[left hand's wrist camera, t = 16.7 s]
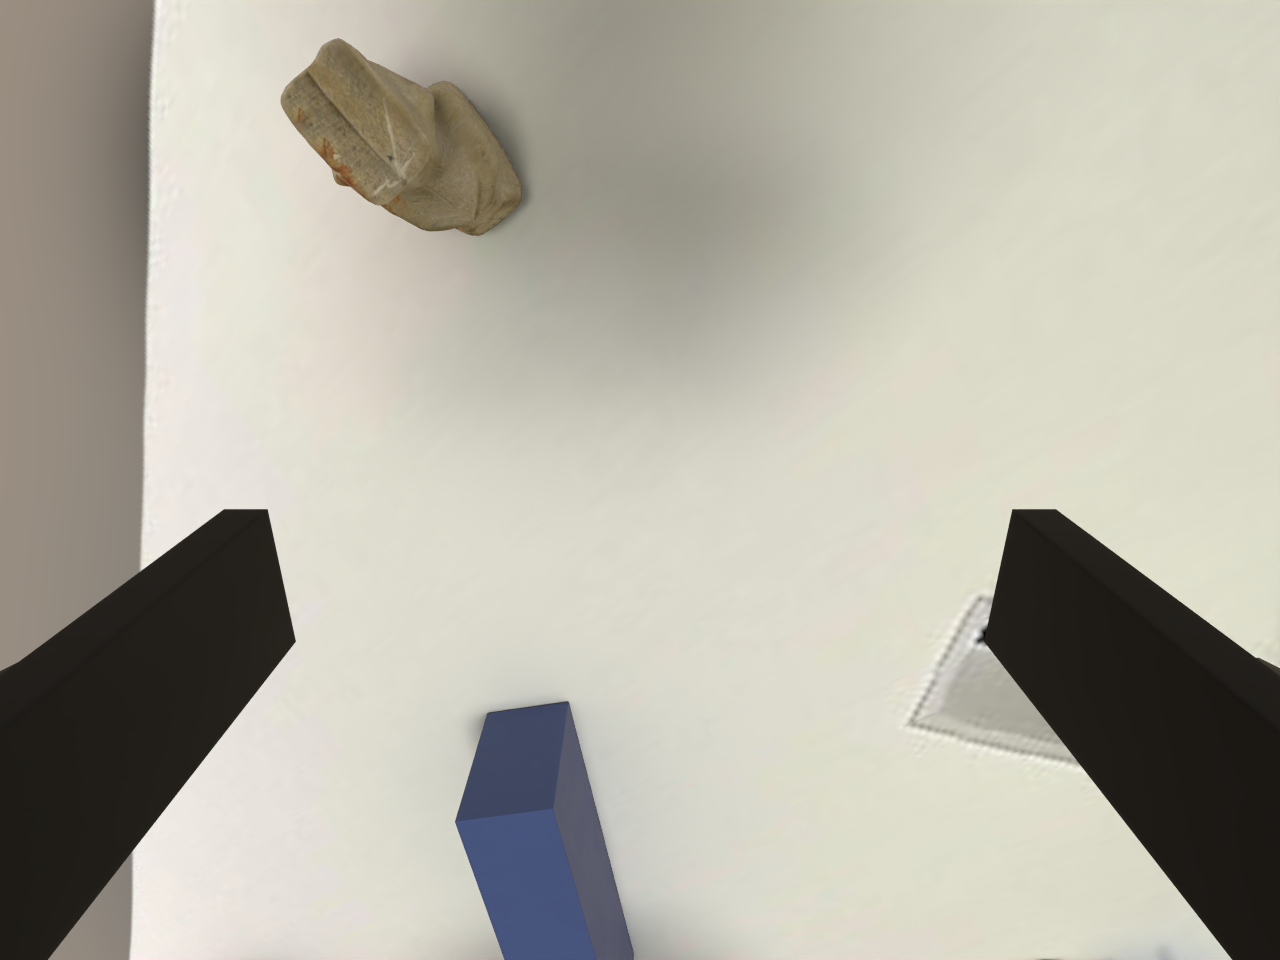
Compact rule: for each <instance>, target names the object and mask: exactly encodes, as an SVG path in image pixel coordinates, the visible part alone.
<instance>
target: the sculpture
mask: <svg viewBox="0 0 1280 960" xmlns="http://www.w3.org/2000/svg"><path fill="white" fill-rule="evenodd" d="M281 105H282V108H283V110H284V111H285V113H286V115H287V116H288V118H289V119H290V121H291V122H292V124H293V125H294V126H295V128H296V129H297V130H298V131H299V132H300V134H301V135H302V136H303V137H304V138H305V139H306V141H307V142H308V143H309V145H310V146H311V147H312V148H313V149H314V150H315V151H316V152H317V153H318V154H319V155H320V156H321V157H322V158H323V159H324V160H325V162H326V163H327V164H328V165H329V166H330V167H331V168H332V172H333V177H334V180H335V182H336V183H337V184H339V185H342V186H350V187H351V188H353V189H354V190H355V191H356V192H358V193H359V194H360V195H361V196H362V197H364V198H365V199H366V200H368V201H369V202H371V203H373V204H375V205H381V206H382V207H384V208H385V209H386V210H387V211H389V212H390V213H392V214H394V215H396V216H398V217H400V218H402V219H404V220H405V221H407V222H409V223H411V224H413V225H415V226H417V227H418V228H420V229H423V230H426V231H443V230H449V229H453V228H456V229H458V230H460V231H462V232H464V233H466V234H469V235H476V236H478V235H482V234H484V233H485V232H487V231H488V230H490V229H491V228H492V227H494V226H495V225H497V224H498V223H499V222H500V221H502V220H503V219H504V218H505V217H506V216H507V215H508V214H509V213H511V212H512V211H513V210H514V209H515V208H516V207H517V206H518V204H519V203H520V201H521V199H522V194H521V189H522V185H521V182H520V180H519V179H518V177H517V175H516V174H515V172H514V170H513V168H512V166H511V164H510V162H509V160H508V158H507V156H506V154H505V153H504V151H503V149H502V148H501V146H500V145H499V143H498V141H497V140H496V138H495V137H494V135H493V134H492V132H491V131H490V129H489V128H488V127H487V125H486V124H485V122H484V121H483V120H482V118H481V117H480V115H479V114H478V113H477V112H476V110H475V109H474V108H473V107H472V105H471V104H470V103H469V102H468V100H467V99H466V98H465V97H464V95H463V94H462V93H461V92H460V91H459V90H458V89H457V87H456V86H455V85H453V84H451V83H449V82H446V81H443V82H438V83H436V84H433V85H432V86H430V87H429V88H427V89H425V88H423V87H422V86H420V85H418V84H416V83H414V82H412V81H410V80H408V79H406V78H404V77H402V76H400V75H398V74H396V73H394V72H392V71H390V70H388V69H386V68H384V67H382V66H381V65H378V64H376V63H373V62H371V61H369V60H367V59H366V58H365V57H364V56H363V55H362V54H361V53H360V52H359V51H358V50H356V49H355V48H354V47H352V46H351V45H350V44H348V43H346V42H345V41H343V40H341V39H334V40H331V41H329V42H327V43H326V44H324V45H323V46H322V47H321V48H320V50H319V52H318V54H317V56H316V58H315V60H314V61H313V63H312V64H311V65H310V66H309V67H308V68H307V69H305V70H304V71H303V72H302V73H301V74H299V75H298V76H297V77H296V78H295V79H293V80H292V81H291V82H290V83H289V84H288V85H287V86H286V88H285V89H284V91H283V93H282V95H281Z"/></svg>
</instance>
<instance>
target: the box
mask: <svg viewBox="0 0 1280 960" xmlns="http://www.w3.org/2000/svg"><path fill="white" fill-rule="evenodd" d="M455 823H456V826H457V829H458V831H459V834H460V837H461V840H462V843H463V845H464V848H465V851H466V854H467V856H468V859H469V862H470V865H471V868H472V870H473V873H474V876H475V879H476V881H477V884H478V887H479V890H480V892H481V895H482V898H483V901H484V904H485V906H486V909H487V912H488V915H489V917H490V920H491V923H492V926H493V929H494V931H495V934H496V937H497V940H498V942H499V945H500V948H501V951H502V954H503V956H504V959H505V960H634V953H633V949H632V946H631V942H630V938H629V934H628V930H627V926H626V922H625V919H624V915H623V911H622V907H621V903H620V899H619V895H618V892H617V888H616V884H615V880H614V876H613V872H612V868H611V865H610V861H609V857H608V853H607V849H606V845H605V841H604V838H603V834H602V830H601V826H600V822H599V818H598V814H597V811H596V807H595V803H594V799H593V795H592V791H591V787H590V784H589V780H588V776H587V772H586V768H585V764H584V760H583V757H582V753H581V749H580V745H579V741H578V737H577V733H576V730H575V726H574V722H573V718H572V714H571V710H570V706H569V703H568V702H564V703H557V704H550V705H543V706H536V707H529V708H522V709H514V710H507V711H500V712H493V713H488V714H487V717H486V720H485V723H484V727H483V730H482V733H481V737H480V740H479V743H478V747H477V750H476V753H475V757H474V760H473V764H472V767H471V770H470V774H469V777H468V780H467V784H466V787H465V790H464V794H463V797H462V800H461V804H460V807H459V810H458V814H457V817H456V821H455Z"/></svg>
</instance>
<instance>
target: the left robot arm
mask: <svg viewBox="0 0 1280 960" xmlns="http://www.w3.org/2000/svg"><path fill="white" fill-rule="evenodd" d="M295 642H296V640H295V636H294V631H293V626H292V622H291V617H290V612H289V608H288V603H287V598H286V594H285V589H284V584H283V579H282V575H281V570H280V565H279V561H278V556H277V551H276V547H275V542H274V537H273V533H272V528H271V523H270V519H269V514H268V509H224V510H223V511H221V512H220V513H219V514H217V515H216V516H215V517H213V518H212V519H210V520H209V521H208V522H206V523H205V524H204V525H202V526H201V527H200V528H198V529H197V530H196V531H194V532H193V533H192V534H190V535H189V536H188V537H186V538H185V539H184V540H182V541H181V542H180V543H178V544H177V545H176V546H174V547H173V548H171V549H170V550H169V551H167V552H166V553H165V554H163V555H162V556H161V557H159V558H158V559H157V560H155V561H154V562H153V563H151V564H150V565H149V566H147V567H146V568H145V569H143V570H142V571H141V572H139V573H138V574H137V575H135V576H134V577H132V578H131V579H130V580H128V581H127V582H126V583H125V584H123V585H122V586H120V587H119V588H118V589H116V590H115V591H114V592H112V593H111V594H110V595H108V596H107V597H106V598H104V599H103V600H102V601H100V602H99V603H98V604H96V605H95V606H94V607H92V608H91V609H89V610H88V611H87V612H85V613H84V614H83V615H81V616H80V617H79V618H77V619H76V620H75V621H73V622H72V623H71V624H69V625H68V626H67V627H65V628H64V629H63V630H61V631H60V632H59V633H57V634H56V635H54V636H53V637H52V638H51V639H49V640H48V641H46V642H45V643H44V644H42V645H41V646H40V647H38V648H37V649H36V650H34V651H33V652H32V653H30V654H29V655H28V656H26V657H25V658H24V659H22V660H21V661H20V662H18V663H16V664H14V665H12V666H10V667H8V668H6V669H4V670H2V671H0V960H48V959H49V957H50V956H51V955H52V954H53V952H54V951H55V950H56V948H57V947H58V946H59V945H60V943H61V942H62V941H63V939H64V938H65V937H66V936H67V934H68V933H69V932H70V930H71V929H72V928H73V927H74V925H75V924H76V923H77V921H78V920H79V919H80V918H81V916H82V915H83V914H84V912H85V911H86V910H87V909H88V907H89V906H90V905H91V904H92V902H93V901H94V900H95V898H96V897H97V896H98V894H99V893H100V892H101V891H102V889H103V888H104V887H105V886H106V884H107V883H108V882H109V880H110V879H111V878H112V877H113V875H114V874H115V873H116V871H117V870H118V869H119V868H120V866H121V865H122V864H123V862H124V861H125V860H126V859H127V857H128V856H129V855H130V854H131V852H132V851H133V850H134V848H135V847H136V846H137V845H138V843H139V842H140V841H141V839H142V838H143V837H144V836H145V834H146V833H147V832H148V830H149V829H150V828H151V827H152V825H153V824H154V823H155V821H156V820H157V819H158V818H159V816H160V815H161V814H162V812H163V811H164V810H165V809H166V807H167V806H168V805H169V803H170V802H171V801H172V800H173V798H174V797H175V796H176V795H177V793H178V792H179V791H180V789H181V788H182V787H183V786H184V784H185V783H186V782H187V780H188V779H189V778H190V777H191V775H192V774H193V773H194V771H195V770H196V769H197V768H198V766H199V765H200V764H201V762H202V761H203V760H204V759H205V757H206V756H207V755H208V753H209V752H210V751H211V750H212V748H213V747H214V746H215V745H216V743H217V742H218V741H219V739H220V738H221V737H222V736H223V734H224V733H225V732H226V730H227V729H228V728H229V727H230V725H231V724H232V723H233V721H234V720H235V719H236V718H237V716H238V715H239V714H240V712H241V711H242V710H243V709H244V707H245V706H246V705H247V703H248V702H249V701H250V700H251V698H252V697H253V696H254V694H255V693H256V692H257V691H258V689H259V688H260V687H261V686H262V684H263V683H264V682H265V680H266V679H267V678H268V677H269V675H270V674H271V673H272V671H273V670H274V669H275V668H276V666H277V665H278V664H279V662H280V661H281V660H282V659H283V657H284V656H285V655H286V653H287V652H288V651H289V650H290V648H291V647H292V646H293V644H294V643H295ZM984 642H985V643H986V644H987V646H988V647H989V648H990V650H991V651H992V652H993V653H994V655H995V656H996V657H997V659H998V660H999V661H1000V662H1001V664H1002V665H1003V666H1004V668H1005V669H1006V670H1007V671H1008V673H1009V674H1010V675H1011V677H1012V678H1013V679H1014V680H1015V682H1016V683H1017V684H1018V686H1019V687H1020V688H1021V689H1022V691H1023V692H1024V693H1025V694H1026V696H1027V697H1028V698H1029V700H1030V701H1031V702H1032V703H1033V705H1034V706H1035V707H1036V709H1037V710H1038V711H1039V712H1040V714H1041V715H1042V716H1043V718H1044V719H1045V720H1046V721H1047V723H1048V724H1049V725H1050V727H1051V728H1052V729H1053V730H1054V732H1055V733H1056V734H1057V736H1058V737H1059V738H1060V739H1061V741H1062V742H1063V743H1064V745H1065V746H1066V747H1067V748H1068V750H1069V751H1070V752H1071V753H1072V755H1073V756H1074V757H1075V759H1076V760H1077V761H1078V762H1079V764H1080V765H1081V766H1082V768H1083V769H1084V770H1085V771H1086V773H1087V774H1088V775H1089V777H1090V778H1091V779H1092V780H1093V782H1094V783H1095V784H1096V786H1097V787H1098V788H1099V789H1100V791H1101V792H1102V793H1103V795H1104V796H1105V797H1106V798H1107V800H1108V801H1109V802H1110V803H1111V805H1112V806H1113V807H1114V809H1115V810H1116V811H1117V812H1118V814H1119V815H1120V816H1121V818H1122V819H1123V820H1124V821H1125V823H1126V824H1127V825H1128V827H1129V828H1130V829H1131V830H1132V832H1133V833H1134V834H1135V836H1136V837H1137V838H1138V839H1139V841H1140V842H1141V843H1142V845H1143V846H1144V847H1145V848H1146V850H1147V851H1148V852H1149V854H1150V855H1151V856H1152V857H1153V859H1154V860H1155V861H1156V862H1157V864H1158V865H1159V866H1160V868H1161V869H1162V870H1163V871H1164V873H1165V874H1166V875H1167V877H1168V878H1169V879H1170V880H1171V882H1172V883H1173V884H1174V886H1175V887H1176V888H1177V889H1178V891H1179V892H1180V893H1181V895H1182V896H1183V897H1184V898H1185V900H1186V901H1187V902H1188V904H1189V905H1190V906H1191V907H1192V909H1193V910H1194V911H1195V913H1196V914H1197V915H1198V916H1199V918H1200V919H1201V920H1202V921H1203V923H1204V924H1205V925H1206V927H1207V928H1208V929H1209V930H1210V932H1211V933H1212V934H1213V936H1214V937H1215V938H1216V939H1217V941H1218V942H1219V943H1220V945H1221V946H1222V947H1223V948H1224V950H1225V951H1226V952H1227V954H1228V955H1229V956H1230V957H1231V959H1232V960H1280V668H1278V667H1276V666H1274V665H1272V664H1270V663H1268V662H1266V661H1264V660H1262V659H1260V658H1255V657H1254V656H1252V655H1251V654H1250V653H1248V652H1247V651H1246V650H1244V649H1243V648H1242V647H1240V646H1239V645H1238V644H1236V643H1235V642H1234V641H1232V640H1231V639H1230V638H1228V637H1227V636H1226V635H1224V634H1223V633H1221V632H1220V631H1219V630H1217V629H1216V628H1215V627H1213V626H1212V625H1211V624H1209V623H1208V622H1207V621H1205V620H1204V619H1203V618H1201V617H1200V616H1199V615H1197V614H1196V613H1195V612H1193V611H1192V610H1191V609H1189V608H1188V607H1187V606H1185V605H1184V604H1182V603H1181V602H1180V601H1178V600H1177V599H1176V598H1174V597H1173V596H1172V595H1170V594H1169V593H1168V592H1166V591H1165V590H1164V589H1162V588H1161V587H1160V586H1158V585H1157V584H1156V583H1154V582H1153V581H1152V580H1150V579H1149V578H1148V577H1146V576H1145V575H1143V574H1142V573H1141V572H1139V571H1138V570H1137V569H1135V568H1134V567H1133V566H1131V565H1130V564H1129V563H1127V562H1126V561H1125V560H1123V559H1122V558H1121V557H1119V556H1118V555H1117V554H1115V553H1114V552H1113V551H1111V550H1110V549H1109V548H1107V547H1106V546H1104V545H1103V544H1102V543H1100V542H1099V541H1098V540H1096V539H1095V538H1094V537H1092V536H1091V535H1090V534H1088V533H1087V532H1086V531H1084V530H1083V529H1082V528H1080V527H1079V526H1078V525H1076V524H1075V523H1074V522H1072V521H1071V520H1070V519H1068V518H1067V517H1065V516H1064V515H1063V514H1061V513H1060V512H1059V511H1057V510H1056V509H1012V514H1011V519H1010V523H1009V528H1008V533H1007V537H1006V542H1005V547H1004V551H1003V556H1002V561H1001V565H1000V570H999V575H998V579H997V584H996V589H995V594H994V598H993V603H992V608H991V612H990V617H989V622H988V626H987V631H986V636H985V640H984Z"/></svg>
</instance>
